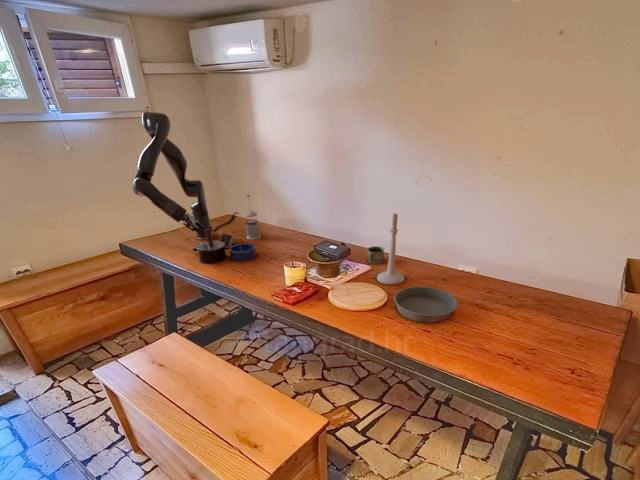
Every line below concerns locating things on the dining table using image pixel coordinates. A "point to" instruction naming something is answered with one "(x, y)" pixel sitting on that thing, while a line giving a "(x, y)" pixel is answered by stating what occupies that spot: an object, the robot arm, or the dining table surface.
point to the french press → (252, 225)
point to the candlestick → (391, 260)
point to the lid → (210, 243)
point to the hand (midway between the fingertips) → (203, 231)
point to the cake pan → (425, 304)
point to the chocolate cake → (227, 239)
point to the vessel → (375, 254)
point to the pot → (212, 255)
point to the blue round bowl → (242, 252)
